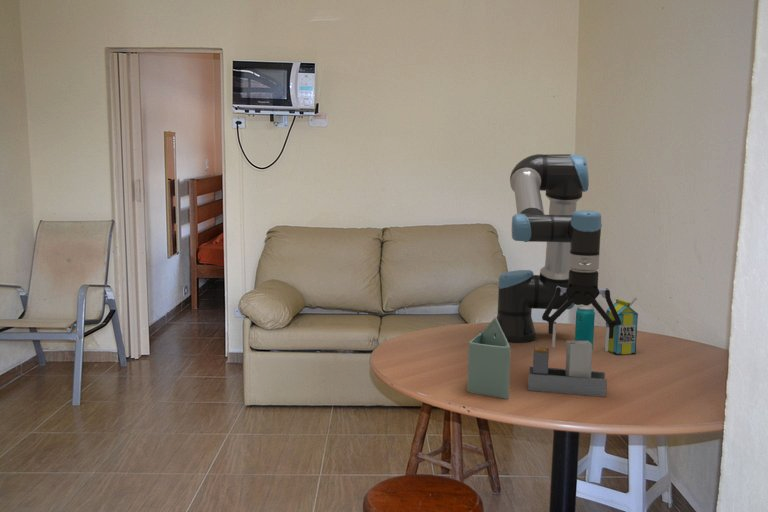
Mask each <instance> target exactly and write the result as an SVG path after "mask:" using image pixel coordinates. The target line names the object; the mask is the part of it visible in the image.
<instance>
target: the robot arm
mask: <svg viewBox="0 0 768 512" xmlns="http://www.w3.org/2000/svg"><path fill="white" fill-rule="evenodd" d="M589 181H590V180H589V171H588V163H587V160H586V158H585V157H584V155H580V154H579V155H578V154H572V153H569V154H568V153H566V154H553V153H552V154H542V153H537V154H532V155H529V156H526V157H525V158H523V159H521V160H520V161H519V162H518V163H517V164H516V165H515V166H514V167H513V169H512V170H511V173H510V177H509V184H510V188H511V190H512V191H513V192H514V197H515V206H516V214H513V216H512V218H511V239H512V240H514V241H516V242H524V243H529V242H530V243H531V242H533V243H535V242H536V243H538V242H540V243H541V242H542V243H546V249H545V250H546V251H545V263H544V266H543V267H540V271H539V274H534V272H533V270H530V269H527V270H525V269H519V270H510V271H506V272H503V273H501V274H500V275H499V277H498V285H497V290H498V295H497V313H496V314H497V316H496V318H497V320H498V322H499V324H500V327H501V329H502V331H503V333H504V335H505V337H506V339H507V341H508V343H527V342H532V341H534V340H536V339H537V334H536V333H537V331H536V328H535V325H534V321H533V317H532V309H533V310H534V309H536V310H537V309H539V310H544V312H543V313H542V314H541V315H542V316H541V318H542V321H545V322H547V323H548V328H547V329H548V331H547V333H548V335H551V336H552V339H551V340H552V341H551V342H552V343H551V348H556V337H557V336H556V334H557V333H556V331H557V321H556V320H557V319H558V318H559V317H560V316H561V315H562V314H563V313H565V311H566V310H572V309H573V308H574V307H575V305H576V306H589V305H592V307H593V308H594V309H595V310H596V311H597V313H598V314H599V315H600V316H601V317H602V319H603V320H604V321H605V323H606V322H607V323H608V325H606V324H605V331H604V332H605V333H604V348H603V349H605V350H604V352H608V343H609V338H610V339H612V338H613V333H614V327H615V326H616V325H621V320H620V318H619V316H618V314H617V311H616V309H615V307H614V305H613V304H614V303H613V300H612V298H611V291H610V288H608V287H606V288H605V289H599V287H598V286H599V271H598V270H599V268H600V249H601V248H600V247H601V245H600V244H601V233H602V227H603V224H602V214H601V212H599V211H594V210H577V202H578V201H580V200H581V199H582V198H583V193H585V192H587V191H588V190H589V187H590V186H589V183H590V182H589ZM541 191H542V192H544V191H545V196H546V198H547V199H548V200H549V207H548V214H545V210H544V206H543V201H542V194H541ZM600 295H601V297H602V298H604V299H605V301H606V303H607V306H608V309H609V308H610V310H611V312H612V314H613V317H614V319H615V320H613V321H612V320H611V318H610V317H609V316H608V315H607V313H606V311H605V310H604V308H602V306H601V305H600V303H599V302H598V301H597V298H598V297H599V296H600ZM553 310H555V311H554V313H552V314H551V312H552V311H553ZM550 314H551V316H550ZM495 337H496V334H495Z"/></svg>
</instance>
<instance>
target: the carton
mask: <svg viewBox="0 0 768 512" xmlns="http://www.w3.org/2000/svg"><path fill="white" fill-rule="evenodd" d="M636 300H637V297H634V298H633V299H632V300H631V302H628V301H626V300H622V299H619V298H617V299H615V302H614V303H613V305H614V307H615V309H616V311H617V314H618V316H619V318H620V320H621V325H616V326H615V327H614V333H613V338H612V339H610V338H609V343H608V351H607V352H608V353H610V354H612V355H615V356H627V355H628V356H629V355H630V356H631V355H636V352H637V337H638V336H637V335H638V334H637V332H638V318H639V317H638V316H639V313H638V312H636V311H635V310H634V309H633V308H631V306H632V305H633V304H634V303H635V301H636ZM605 312H606V313H607V315H608V316H609V317H610V318H611V320H612V321H613V320H615V319H614V317H613V314H612V312H611V310H610V308H609V307H608V308H607V309H606V311H605ZM606 325H608V323H607V322H606V321H605V326H606ZM603 349H604V348H603ZM604 351H605V349H604Z"/></svg>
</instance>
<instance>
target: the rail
mask: <svg viewBox="0 0 768 512" xmlns="http://www.w3.org/2000/svg"><path fill="white" fill-rule="evenodd" d="M549 355H550V349H549V348H547V347H536V346H535V347H534V348H533V357H532V358H533V359H532V366H530V365H529V370H528V371H529V372H528V379H527V380H528V383H527V384H528V387H527V388H528V389H527V391H530V392H541V393H555V394H565V395H567V394H568V395H576V396H577V395H578V396H593V397H603V398H604V397H605V398H606V397H607V384H608V383H607V382H608V380H607V379H606V378H605V377H606V372H605V371H596V370H591V378H583V377H570V376H566V368H556V367H555V368H554V367H549V361H550V357H549Z"/></svg>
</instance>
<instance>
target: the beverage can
mask: <svg viewBox="0 0 768 512" xmlns="http://www.w3.org/2000/svg"><path fill="white" fill-rule="evenodd" d="M575 312H576V313H575V328H574V329H575V330H574V341H589V342H590V343H591V344H592V351H593V350H594V340H595V339H594V338H595V337H594V336H595V335H594V333H595V316H596V313H595V307H594V306H589V305H588V306H587V305H577V309H576V311H575Z"/></svg>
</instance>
